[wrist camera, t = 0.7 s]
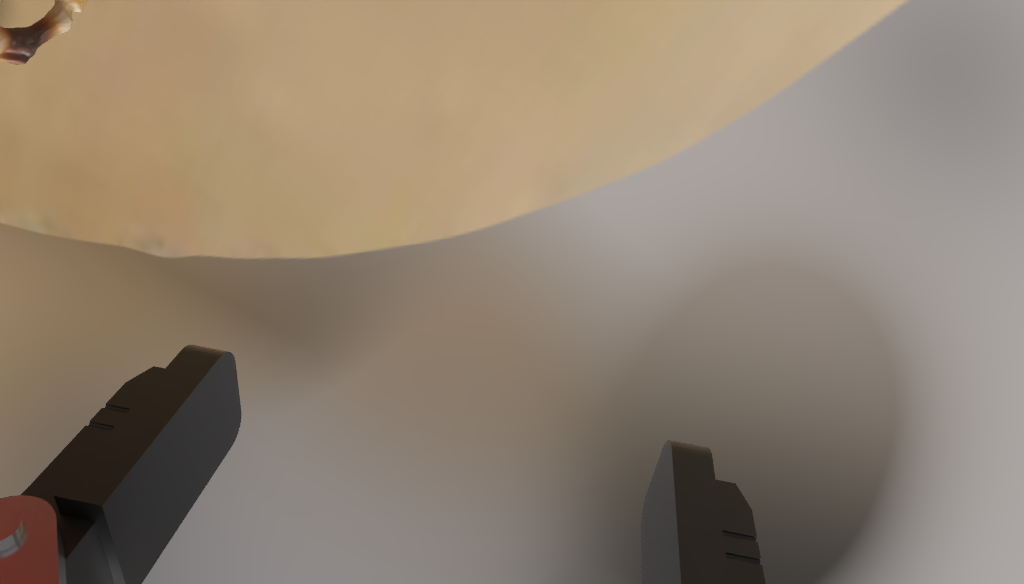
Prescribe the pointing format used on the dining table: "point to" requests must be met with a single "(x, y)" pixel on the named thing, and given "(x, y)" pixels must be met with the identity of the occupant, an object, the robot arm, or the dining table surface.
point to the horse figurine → (37, 32)
